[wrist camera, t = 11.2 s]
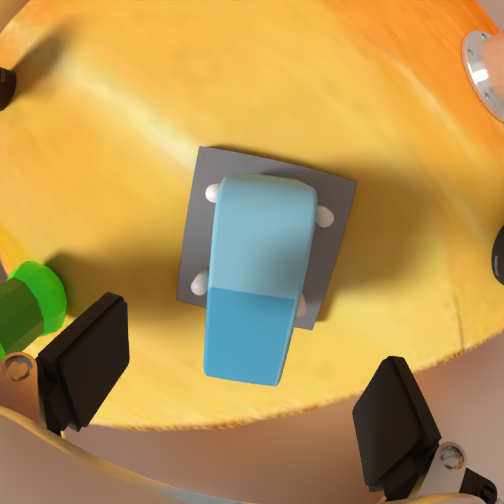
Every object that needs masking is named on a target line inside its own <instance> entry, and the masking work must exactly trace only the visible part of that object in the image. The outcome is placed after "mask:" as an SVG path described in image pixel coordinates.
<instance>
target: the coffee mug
mask: <svg viewBox="0 0 504 504" xmlns="http://www.w3.org/2000/svg"><path fill="white" fill-rule="evenodd" d="M15 87H16V74H15V73H14V72H12V71H10V70H7V69H4V68H2V67H0V111H2V110H3V109H5V108H6V107H7V105H8V104H9V102H10V100H11V98H12V96H13V93H14V90H15Z"/></svg>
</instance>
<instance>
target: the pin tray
mask: <svg viewBox="0 0 504 504" xmlns="http://www.w3.org/2000/svg"><path fill="white" fill-rule="evenodd" d="M240 173H254V174H261V175H269V176H276V177H282V178H289V179H295V180H299V181H301V182H303V183H305V184H307V185H309V186H311V187H313V188H314V189H315V191H316V194H317V215H316V223H315V229H314V234H313V240H312V245H311V250H310V255H309V260H308V265H307V270H306V275H305V280H304V284H303V289H302V294H301V298H300V303H299V307H298V312H297V316H296V320H295V325H294V327H297V328H302V329H308V330H313V327H314V324H315V321H316V319H317V316H318V313H319V310H320V307H321V304H322V302H323V299H324V296H325V293H326V290H327V287H328V284H329V281H330V278H331V274H332V271H333V268H334V265H335V262H336V258H337V255H338V252H339V248H340V245H341V242H342V238H343V235H344V231H345V228H346V224H347V220H348V217H349V213H350V209H351V205H352V201H353V197H354V193H355V189H356V185H357V181H354V180H350V179H347V178H343V177H340V176H336V175H333V174H329V173H325V172H322V171H318V170H314V169H310V168H306V167H302V166H298V165H294V164H290V163H286V162H281V161H277V160H272V159H268V158H263V157H258V156H253V155H248V154H243V153H238V152H232V151H227V150H221V149H215V148H209V147H203V146H199V151H198V156H197V161H196V166H195V172H194V177H193V183H192V188H191V194H190V200H189V206H188V213H187V219H186V226H185V233H184V240H183V247H182V254H181V262H180V271H179V279H178V288H177V298H176V300H178V301H182V302H186V303H190V304H193V305H197V306H201V307H205V308H207V296H208V282H209V269H210V257H211V246H212V235H213V224H214V214H215V206H216V200H217V195H218V191H219V188H220V185H221V182H222V180H223V179H224V177H226V176H228V175H233V174H240Z"/></svg>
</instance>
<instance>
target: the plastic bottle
mask: <svg viewBox="0 0 504 504" xmlns="http://www.w3.org/2000/svg"><path fill="white" fill-rule="evenodd" d="M66 307H67V300H66V293H65V289H64V286H63V283H62V281H61V280H60V279H59V277H58V276H57V275H56V273H54V272H53V271H52V270H51V269H50V268H48V267H46V266H43V265H41V264H39V263H36V262H33V261H27V262H25V263H23V264H21V265H20V266H19V267H18V268H16V269H15V270H14V271H13V272H12V273H11V275H10V276H9V278H8V280H7V281H6V282H4V283H2V284H1V285H0V362H1V360H2V359H3V358H4V357H5V356H6V355H8V354H11V353H14V352H22V351H23V350H24V349H25V348H26V347H27V346H28V345H30V344H31V343H32V342H33V341H34V340H35V339H36V338H38V337H41V336H45V335H48V334H50V333H53V332H56V331H57V330H58V329H60V328H61V327H62V325H63V322H64V319H65V313H66Z"/></svg>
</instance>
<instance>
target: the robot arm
mask: <svg viewBox="0 0 504 504" xmlns="http://www.w3.org/2000/svg"><path fill="white" fill-rule="evenodd" d="M462 58H463V63H464V67H465V70H466V73H467V75H468V78H469V81H470V83H471V85H472V87H473V89H474V91H475V92H476V94H477V96H478V97H479V99H480V100H481V102H482V103H483V105H484V106H485V107H486V108H487V110H488V111H489V112H490V113H491V114H492V115H493V116H494V117H495V118H496V119H498V120H499V121H501V122H503V123H504V31H503V32H501V33H498V34H496V35H494V36H492V35H490V34H488V33H486V32H483V31H473V32H471V33H469V34H468V35H466V36H465V38H464V40H463V43H462ZM129 359H130V356H129V340H128V314H127V303H126V302H124V299H123V297H122V296H119V295H116V294H113V293H110V292H108V293H106V294H105V295H103V296H102V297H101V298H100V299H99V300H98V301H96V302H95V303H94V304H93V305H92V306H91V307H89V308H88V309H87V310H86V311H85V312H84V313H82V314H81V315H80V316H79V317H78V318H77V319H76V320H74V321H73V322H72V323H71V324H70V325H69V326H68V327H67V328H66V329H64V330H63V331H62V332H61V333H60V334H59V335H58V336H57V337H56V338H55V339H53V340H52V341H51V342H50V343H49V344H48V345H47V346H46V347H45V348H44V349H43V350H42V351H41V352H40V353H39V354H38V357H37V358H35V359H34V358H33V357H32V356H31V355H29V354H27V353H24V352H14V353H11V354H8V355H6V356H5V357H4V358H3V359H2V360H1V362H0V504H256V503H248V502H241V501H235V500H229V499H224V498H219V497H213V496H209V495H205V494H201V493H196V492H192V491H189V490H185V489H181V488H178V487H174V486H171V485H168V484H165V483H162V482H158V481H155V480H153V479H150V478H147V477H144V476H142V475H139V474H136V473H134V472H131V471H129V470H126V469H124V468H121V467H119V466H117V465H115V464H112V463H110V462H108V461H106V460H104V459H102V458H100V457H97V456H95V455H93V454H91V453H89V452H87V451H85V450H83V449H81V448H80V447H77V446H76V445H74V444H72V443H70V442H68V441H67V440H65V436H64V432H63V431H64V430H65V429H66V427H67V426H69V427H70V428H72V429H73V430H75V431H77V432H79V431H80V429H81V428H82V426H83V427H86V426H87V425H88V424H89V423H90V421H91V420H92V418H93V416H94V415H95V413H96V412H97V410H98V409H99V407H100V406H101V404H102V403H103V401H104V400H105V398H106V397H107V395H108V394H109V392H110V391H111V389H112V388H113V387H114V385H115V384H116V382H117V381H118V379H119V378H120V376H121V375H122V373H123V372H124V370H125V369H126V368H127V366H128V364H129ZM352 415H353V420H354V425H355V430H356V435H357V440H358V445H359V451H360V457H361V462H362V468H363V474H364V481H365V484H366V485H367V486H369V492H376V491H382V490H384V494H385V495H384V496H383V498H382V499H381V501H380V502H379V503H374V504H504V503H503V502H502V500H501V499H500V498H498V499H497V489H496V487H495V485H494V484H493V483H492V482H491V481H490V480H488V479H486V478H484V477H482V476H480V475H479V474H477V473H475V472H473V471H472V470H470V469H468V468H467V467H466V466H467V456H466V453H465V451H464V450H463V449H462V448H461V447H460V446H459V445H458V444H456V443H453V442H445V443H442V444H441V445H440V446H439V443H438V441H439V440H440V439H441V438H442V437H441V435H440V433H439V430H438V428H437V426H436V423H435V421H434V419H433V416H432V414H431V412H430V410H429V408H428V406H427V403H426V401H425V399H424V397H423V395H422V393H421V391H420V388H419V387H418V384H417V382H416V380H415V378H414V376H413V374H412V372H411V370H410V368H409V366H408V365H407V363H406V361H405V359H404V358H403V357H397V356H388V357H387V358H386V359H384V360H383V361H382V362H381V364H380V365H379V367H378V369H377V371H376V372H375V374H374V376H373V377H372V379H371V381H370V382H369V384H368V386H367V387H366V389H365V391H364V392H363V394H362V395H361V397H360V398H359V400H358V401H357V403H356V404H355V406H354V409H353V414H352Z"/></svg>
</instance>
